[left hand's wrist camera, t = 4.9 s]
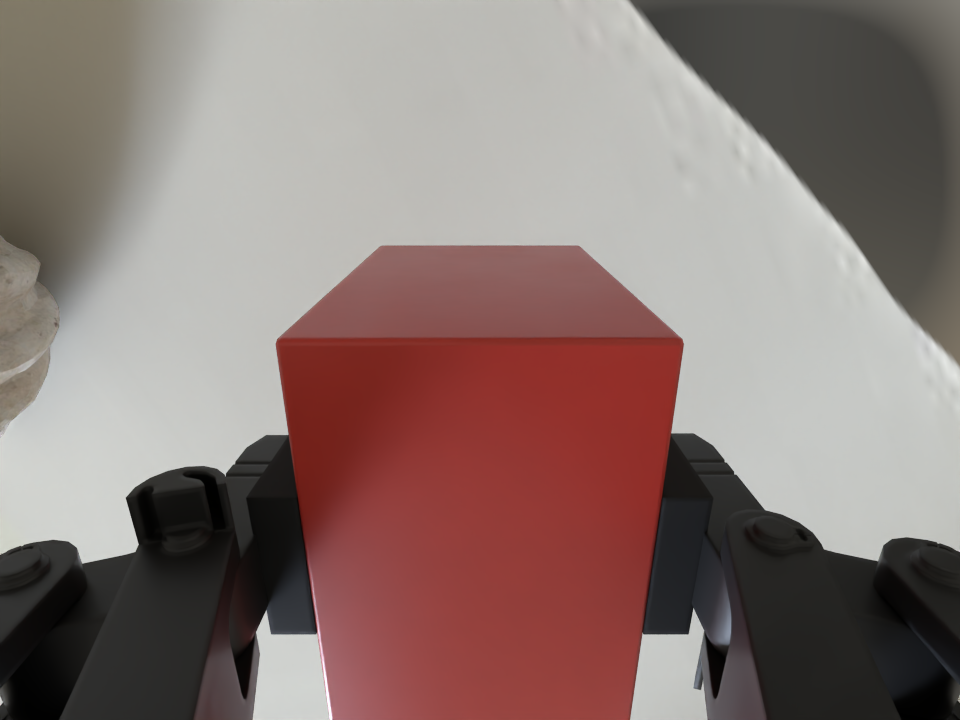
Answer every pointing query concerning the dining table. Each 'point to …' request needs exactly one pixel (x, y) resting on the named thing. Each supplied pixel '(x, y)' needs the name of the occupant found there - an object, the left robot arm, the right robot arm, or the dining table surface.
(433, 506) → the block
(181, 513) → the left robot arm
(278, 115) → the dining table surface
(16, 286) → the seashell
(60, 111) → the dining table surface
